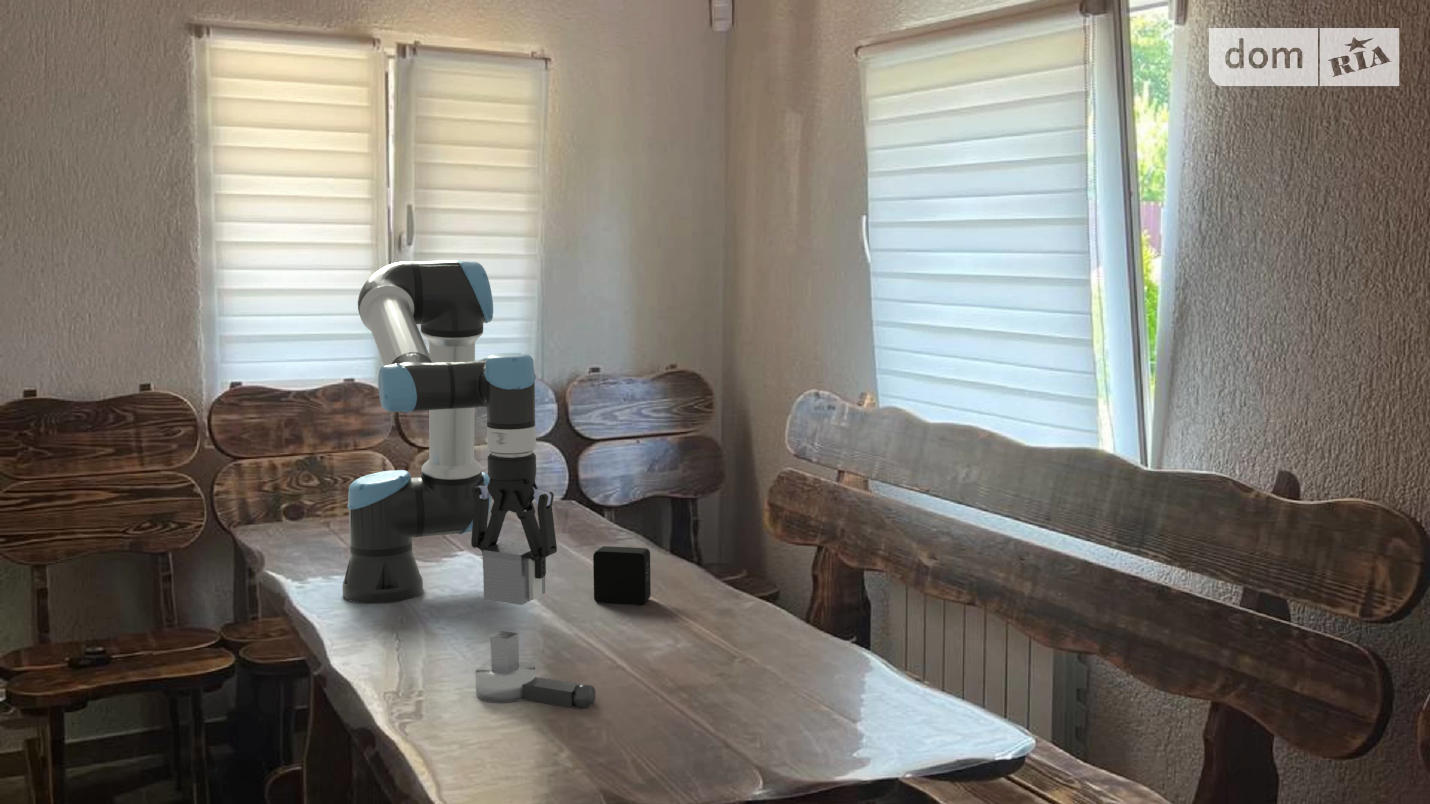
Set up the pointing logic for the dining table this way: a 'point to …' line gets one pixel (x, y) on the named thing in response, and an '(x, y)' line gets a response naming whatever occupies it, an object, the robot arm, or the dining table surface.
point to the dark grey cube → (507, 572)
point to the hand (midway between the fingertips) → (514, 594)
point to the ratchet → (524, 679)
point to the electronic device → (621, 575)
